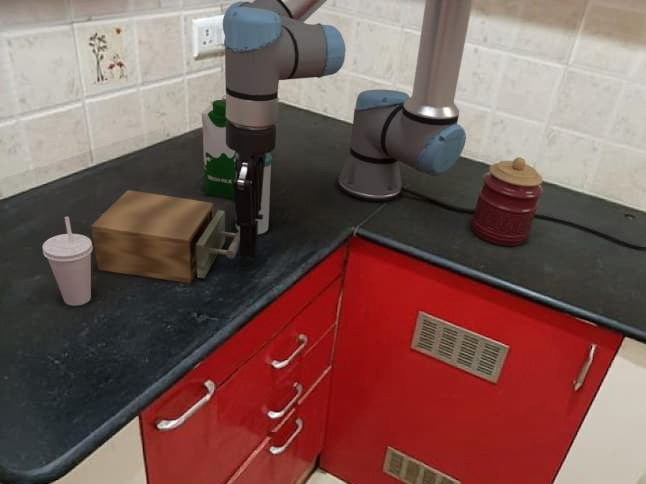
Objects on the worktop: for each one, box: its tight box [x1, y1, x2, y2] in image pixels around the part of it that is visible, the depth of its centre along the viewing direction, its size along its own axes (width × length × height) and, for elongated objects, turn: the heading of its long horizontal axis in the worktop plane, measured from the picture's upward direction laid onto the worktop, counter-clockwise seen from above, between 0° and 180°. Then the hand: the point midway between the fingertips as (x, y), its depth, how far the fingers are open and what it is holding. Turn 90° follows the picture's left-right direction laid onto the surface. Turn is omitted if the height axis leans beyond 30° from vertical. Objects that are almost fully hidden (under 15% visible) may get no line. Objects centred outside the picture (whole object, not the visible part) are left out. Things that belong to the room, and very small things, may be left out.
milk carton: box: [201, 100, 237, 201], centre depth 117 cm, size 9×9×20 cm
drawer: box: [190, 209, 240, 279], centre depth 96 cm, size 18×13×6 cm
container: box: [235, 152, 273, 235], centre depth 107 cm, size 7×7×15 cm
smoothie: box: [42, 216, 94, 307], centre depth 81 cm, size 6×6×14 cm
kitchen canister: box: [470, 157, 544, 247], centre depth 120 cm, size 13×13×18 cm
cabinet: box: [90, 189, 215, 284], centre depth 96 cm, size 15×14×8 cm
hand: (248, 254), depth 97 cm, fingers closed
